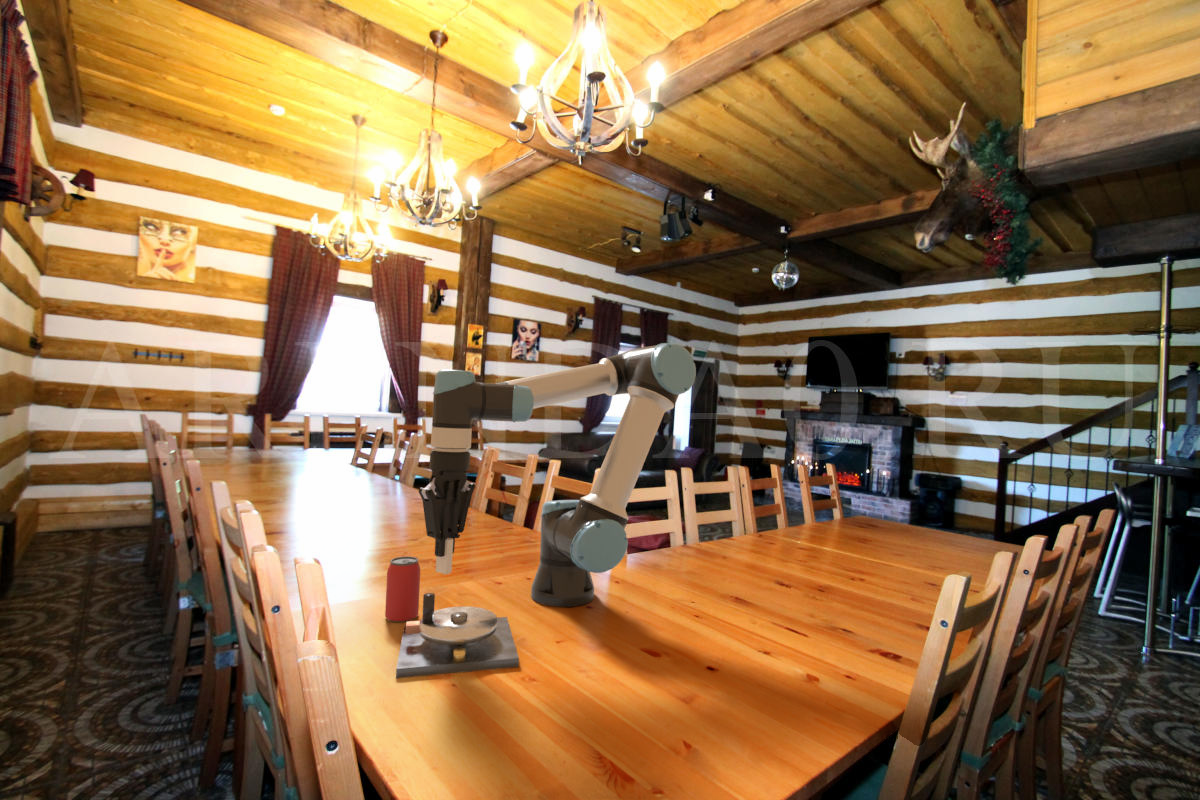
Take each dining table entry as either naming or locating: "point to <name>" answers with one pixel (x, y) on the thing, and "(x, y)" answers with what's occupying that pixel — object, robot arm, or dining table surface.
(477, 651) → the base plate
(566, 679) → the dining table surface
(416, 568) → the beer can
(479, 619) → the silver disc with handle
